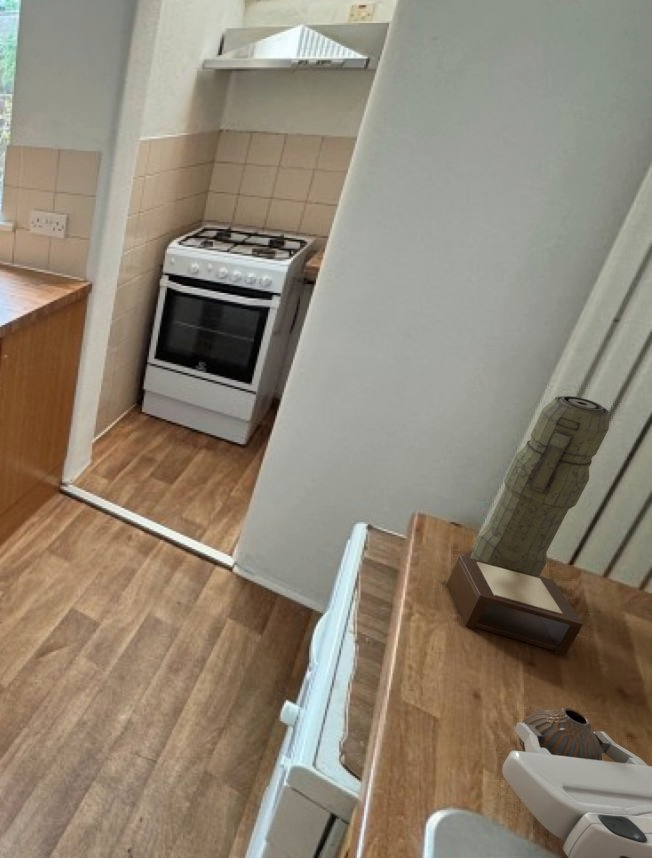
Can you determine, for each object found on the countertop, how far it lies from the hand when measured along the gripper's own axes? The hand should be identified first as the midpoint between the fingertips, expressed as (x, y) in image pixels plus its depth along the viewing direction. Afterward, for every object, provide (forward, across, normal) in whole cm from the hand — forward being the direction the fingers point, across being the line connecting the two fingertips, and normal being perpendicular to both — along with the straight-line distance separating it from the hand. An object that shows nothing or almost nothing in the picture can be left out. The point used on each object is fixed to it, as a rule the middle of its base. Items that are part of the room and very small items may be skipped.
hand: (556, 729), depth 76 cm
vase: (-1, 0, +5) cm, 5 cm away
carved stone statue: (+36, -22, +6) cm, 42 cm away
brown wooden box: (+24, -13, +6) cm, 28 cm away
